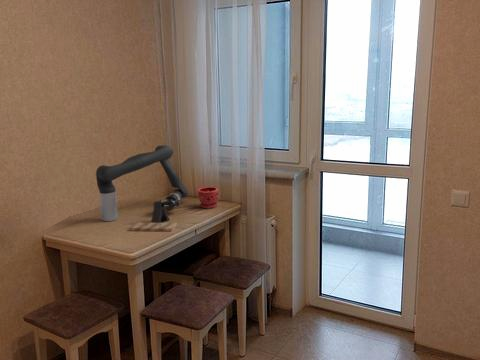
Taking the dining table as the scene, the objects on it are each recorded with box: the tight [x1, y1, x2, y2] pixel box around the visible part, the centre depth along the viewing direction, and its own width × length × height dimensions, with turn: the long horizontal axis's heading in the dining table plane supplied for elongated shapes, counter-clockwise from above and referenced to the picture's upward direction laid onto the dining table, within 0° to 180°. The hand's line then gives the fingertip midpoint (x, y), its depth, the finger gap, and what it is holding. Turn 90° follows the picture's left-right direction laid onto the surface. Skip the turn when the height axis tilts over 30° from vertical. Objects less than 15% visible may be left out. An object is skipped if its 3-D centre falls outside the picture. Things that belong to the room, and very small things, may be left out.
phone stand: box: [150, 200, 170, 223], centre depth 248 cm, size 9×6×12 cm, turn 140°
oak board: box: [129, 221, 177, 232], centre depth 237 cm, size 24×10×2 cm, turn 82°
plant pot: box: [197, 186, 219, 209], centre depth 276 cm, size 13×13×12 cm
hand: (164, 206), depth 257 cm, fingers open, 8 cm apart
